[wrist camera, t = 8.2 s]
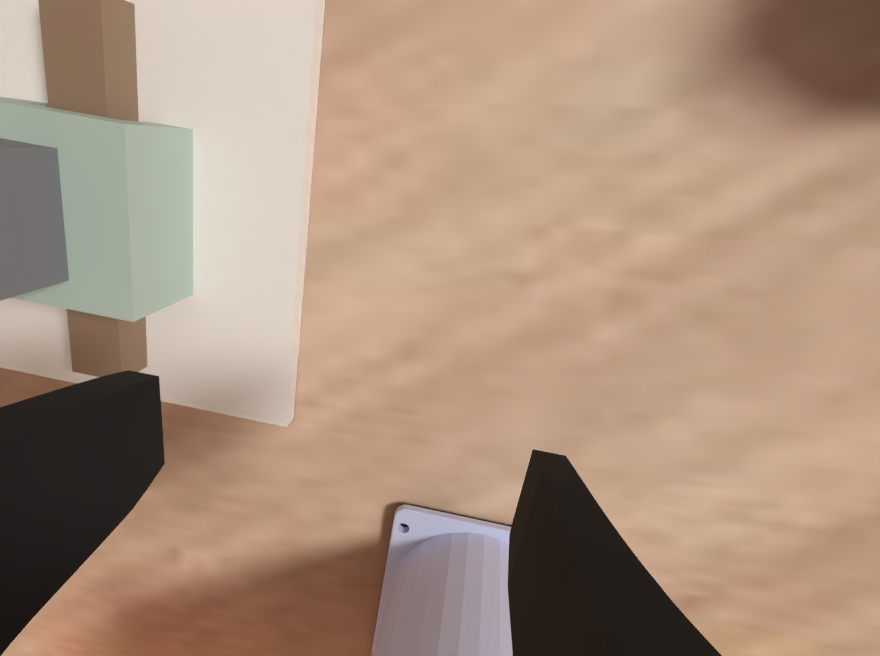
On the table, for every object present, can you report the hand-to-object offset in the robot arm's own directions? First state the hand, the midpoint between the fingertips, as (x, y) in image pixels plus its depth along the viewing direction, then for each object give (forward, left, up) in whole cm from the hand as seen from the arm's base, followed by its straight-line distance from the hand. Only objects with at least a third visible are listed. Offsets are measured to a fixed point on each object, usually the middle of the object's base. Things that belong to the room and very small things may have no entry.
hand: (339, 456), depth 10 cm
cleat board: (+2, +12, -10) cm, 16 cm away
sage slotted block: (+2, +12, -10) cm, 15 cm away
